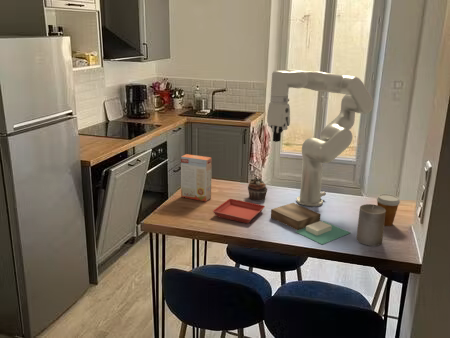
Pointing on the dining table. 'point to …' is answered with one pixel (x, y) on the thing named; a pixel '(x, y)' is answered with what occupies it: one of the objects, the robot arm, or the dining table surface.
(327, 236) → the mat
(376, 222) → the pillar candle
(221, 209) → the plant saucer
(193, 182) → the cracker box
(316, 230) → the beige flat block
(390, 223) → the disposable coffee cup
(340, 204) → the dining table surface
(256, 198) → the cupcake
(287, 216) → the brown flat block
